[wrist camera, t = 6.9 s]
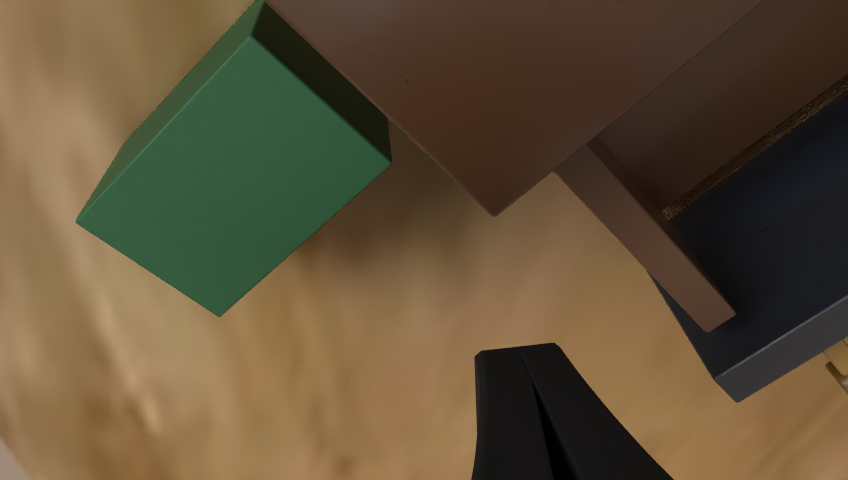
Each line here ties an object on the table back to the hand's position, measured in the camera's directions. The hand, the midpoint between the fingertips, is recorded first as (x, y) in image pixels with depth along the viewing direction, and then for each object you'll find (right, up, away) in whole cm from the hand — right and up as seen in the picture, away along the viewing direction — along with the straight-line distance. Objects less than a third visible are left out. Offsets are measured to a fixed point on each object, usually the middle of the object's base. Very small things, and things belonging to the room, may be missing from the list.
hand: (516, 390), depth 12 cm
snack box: (-6, +6, +7) cm, 11 cm away
